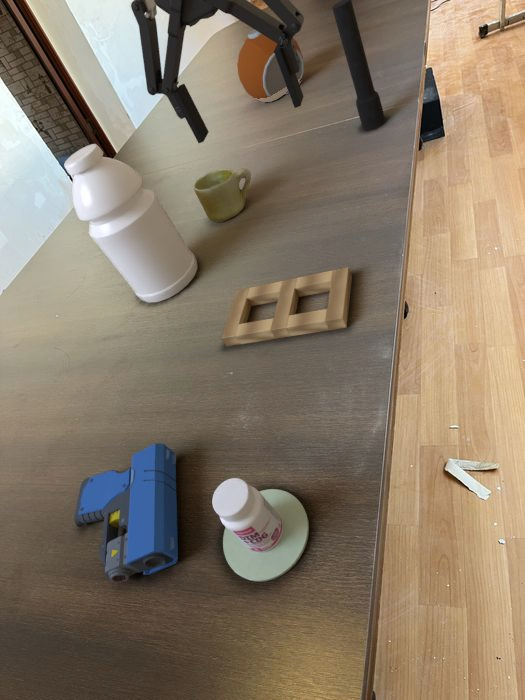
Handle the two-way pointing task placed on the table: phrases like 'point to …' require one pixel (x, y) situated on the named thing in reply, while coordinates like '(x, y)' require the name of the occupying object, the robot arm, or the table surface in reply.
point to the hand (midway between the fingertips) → (249, 121)
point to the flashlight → (358, 66)
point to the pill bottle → (247, 515)
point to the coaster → (283, 552)
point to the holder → (289, 308)
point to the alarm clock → (262, 66)
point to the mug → (222, 193)
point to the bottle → (130, 225)
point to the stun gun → (134, 513)
